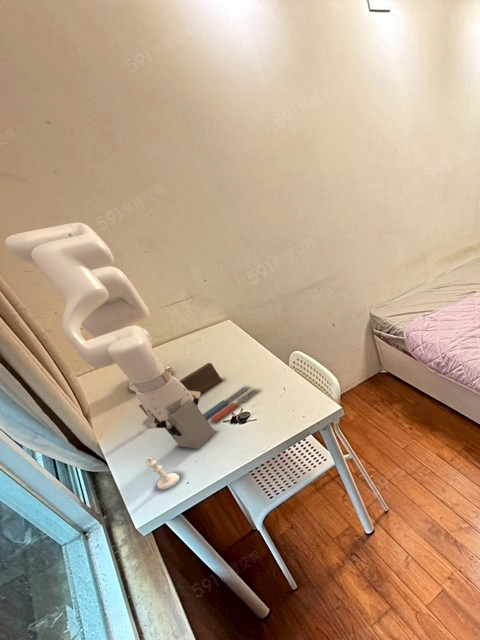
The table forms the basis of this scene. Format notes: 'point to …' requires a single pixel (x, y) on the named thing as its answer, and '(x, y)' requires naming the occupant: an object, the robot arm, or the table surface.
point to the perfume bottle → (189, 425)
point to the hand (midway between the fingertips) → (188, 426)
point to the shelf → (198, 381)
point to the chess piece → (162, 475)
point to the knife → (222, 404)
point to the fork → (232, 406)
